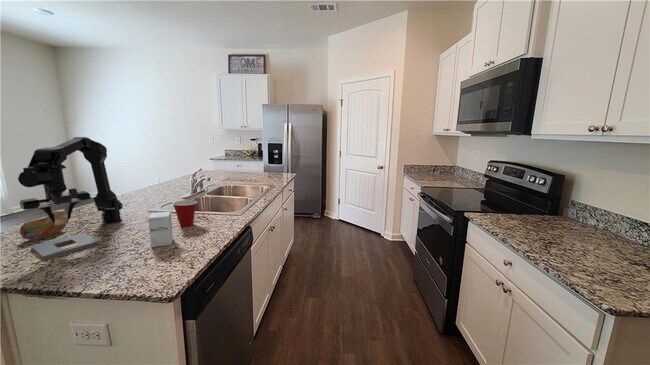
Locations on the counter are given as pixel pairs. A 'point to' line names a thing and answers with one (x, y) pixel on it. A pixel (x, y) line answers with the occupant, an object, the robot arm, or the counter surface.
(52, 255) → the hole plate
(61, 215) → the peg
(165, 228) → the supplement box
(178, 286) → the counter surface
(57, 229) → the tin
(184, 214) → the plastic cup
